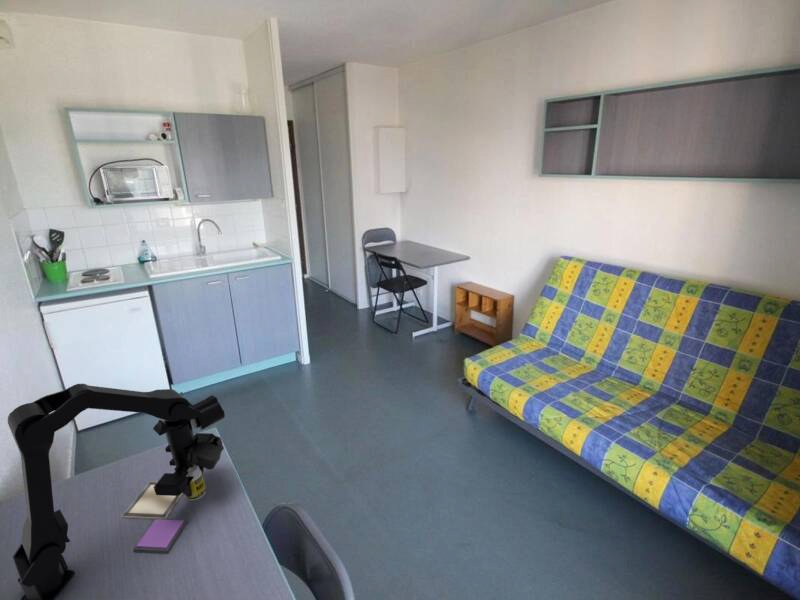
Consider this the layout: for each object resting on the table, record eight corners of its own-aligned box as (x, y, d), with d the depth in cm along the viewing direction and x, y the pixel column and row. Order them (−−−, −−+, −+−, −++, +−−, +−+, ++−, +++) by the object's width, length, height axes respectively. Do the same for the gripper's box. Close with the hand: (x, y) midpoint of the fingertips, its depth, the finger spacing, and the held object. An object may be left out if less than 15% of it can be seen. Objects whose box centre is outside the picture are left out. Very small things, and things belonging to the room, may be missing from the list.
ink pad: (168, 553, 93) (166, 549, 93) (133, 551, 94) (132, 547, 94) (187, 522, 101) (186, 518, 100) (156, 521, 102) (154, 517, 101)
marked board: (165, 519, 102) (164, 517, 102) (122, 517, 103) (121, 516, 103) (189, 484, 112) (189, 482, 112) (150, 482, 113) (149, 481, 113)
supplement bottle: (201, 501, 107) (194, 475, 104) (182, 501, 107) (175, 475, 104) (209, 486, 111) (203, 460, 108) (191, 486, 111) (184, 461, 108)
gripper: (192, 468, 93) (207, 520, 99) (230, 415, 110) (241, 462, 116) (144, 466, 94) (161, 518, 100) (189, 414, 111) (202, 461, 117)
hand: (195, 488), depth 108 cm, fingers closed on supplement bottle, 5 cm apart
